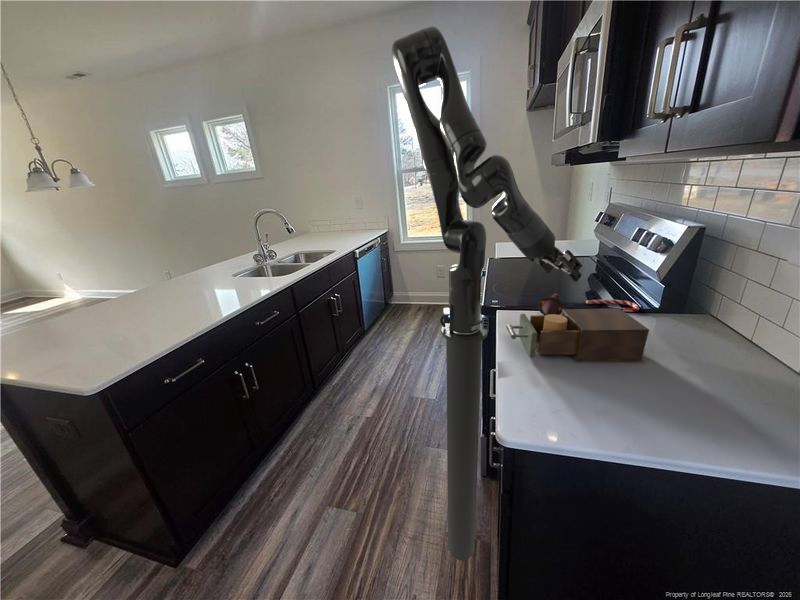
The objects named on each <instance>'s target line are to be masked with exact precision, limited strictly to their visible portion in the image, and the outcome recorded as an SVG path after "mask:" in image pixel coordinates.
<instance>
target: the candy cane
mask: <svg viewBox="0 0 800 600" xmlns="http://www.w3.org/2000/svg"><path fill="white" fill-rule="evenodd" d="M585 304H586V305H598V304H601V305H602V304H603V305H604V304H615V305H624V306H629V307H623V309H622V311H624V312H625V313H627V312H628V313H633V312H634V313H635V312H638V311H639V310H640V306H639V304H637V303H635V302H631V301H628V300H622V299H589V300H586V301H585Z"/></svg>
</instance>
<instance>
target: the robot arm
mask: <svg viewBox="0 0 800 600" xmlns="http://www.w3.org/2000/svg"><path fill="white" fill-rule="evenodd" d="M391 58H392V59H391V60H392V63H393V68H394V71H395V74H396V78H397V81H398V83H399V86H400V89H401V92H402V95H403V98H404V100H405V103H406V106H407V109H408V111H409V115H410V118H411V120H412V124H413V128H414V131H415V134H416V139H417V142H418V146H419V150H420V153H421V158H422V161H423V165H424V169H425V172H426V175H427V178H428V181H429V185H430V188H431V192H432V195H433V199H434V202H435V206H436V211H437V216H438V221H439V227H440V233H441V238H442V241H443V244H444V246H445V247H446V249H447V250H449V251H450V252H452V253H457V254H459V261H458V263H456V264H453V265H450V267H449V269H448V307H443V308H442V310H443V313H442V315H441V316H440V318H439V323H440V324H441V326H443V327H445V326H446V325H445V324H446V323H449V332H450V334H455V335H459V336H472V335H475V334H477V333H478V332H479V331H480V323H481V294H482V293H481V292H482V273H483V269H484V267H485V261H486V249H487V230H486V227H485V226H484V224H483V223H481V222H479V221H477V220H476V221H475V220H467V219H466V220H465V219H464V217H463V214H462V211H461V205H460V196H461V199H462V200H463V202H464V203H465V204H466V205H467V206H469V207H470V208H473V209H480V208H482V207H484V206H485V205H487V204H489V202H491V201H492V200H494V199H496V198H497V197H498V196H500V195H501V194H502V195H501V197H500V198H499V199H498V200H497V201H496V202H495V203H494V204H493V206H492V208H491V213H490V214H491V218H492V219H493V220H494V221H495V223H496V224H497V225H498V226H499V227H500V228H501V229H502V230H503V231H504V233H505V234H506V236H507V237H508V238H509V240H510V241H511V242H512V243H513V244H514V245H515V246H516V248H517V249H518V250H519V251H520V252H521V254H522V255H523V256H524V257H525V258H526V259H528V260H529V262H531V263H535V264H536V265H537V266H540V268H541V269H542V270H543V271H544V272H545V273H546V274H550V273H551V272H552V270H553V269H554V268H555V270H561V271H563V272H564V273H565V274H566V275H567V276H568V277H569V278H570V279H571V280H572V282H574V283H577V282H578V281H579V280H580V279H581V278H582V277H583V275H582V273H581V272H580V270H581V268H582V267H583V265H582V263H581V262H580V261H579V260H578V259H577V257H576V256H575V255H574V253H573V252H571V250H569V249H566V250H565V251H564V252H562V251H561V250H560V248H559V247H557V246H556V236H555V234H554V233H553V231H552V230H551V229H550V228H549V226H548V224H546V222H545V221H544V220H543V219H542V217H541V216H540V215H539V214H538V213H537V212H536V211H534V209H533V208H532V207H531V205H530V204H529V203H528V202H527V200H526V199H525V198H524V197H523V195H522V192H521V190H520V189H519V186H518V184H517V181H516V177H515V174H514V171H513V167H512V165H511V163H510V161H508V159H507V158H506V157H504V156H502V155H499V154H493V155H490V156H489V157H487V158H485V160H484V161H482V162H481V163H480V164H478V165H477V166H476V164H477V162H478V161H479V160H480V158H481V157H482V156H483V154H484V153H485V151H486V150H487V140H486V138H485V136H484V134H483V132H482V131H481V128H480V126H479V124H478V123H477V121H476V119H475V117H474V115H473V113H472V111H471V109H470V107H469V106H470V105H469V104H468V102H467V99H466V96H465V93H464V89H463V87H462V84H461V81H460V78H459V77H460V76H459V75H458V72H457V68H456V66H455V63H454V59H453V57H452V54H451V51H450V49H449V45H448V43H447V41H446V39H445V37H444V35H443V33H442V31H441V30H440V29H439V28H438V27H437V26H434V25H431V26H426V27H424V28H421V29H419V30H416V31H415V32H412V33H410V34H407V35H404V36H402V37H399V38H397V39H396V40H394V41H393V43H392V46H391ZM435 80H439V81H440V84H441V87H442V99H441V105H440V110H439V111H440V112H439V119H438V118H437V116H436V115H435V114H434V113H433V112H432V111H431V109H430V108H429V107H428V105H427V103H426V101H425V99H424V97H423V95H422V93H421V89H420V87H422V86H424V85H426V84H429V83H431V82H434V81H435ZM558 262H559V264H558Z"/></svg>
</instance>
